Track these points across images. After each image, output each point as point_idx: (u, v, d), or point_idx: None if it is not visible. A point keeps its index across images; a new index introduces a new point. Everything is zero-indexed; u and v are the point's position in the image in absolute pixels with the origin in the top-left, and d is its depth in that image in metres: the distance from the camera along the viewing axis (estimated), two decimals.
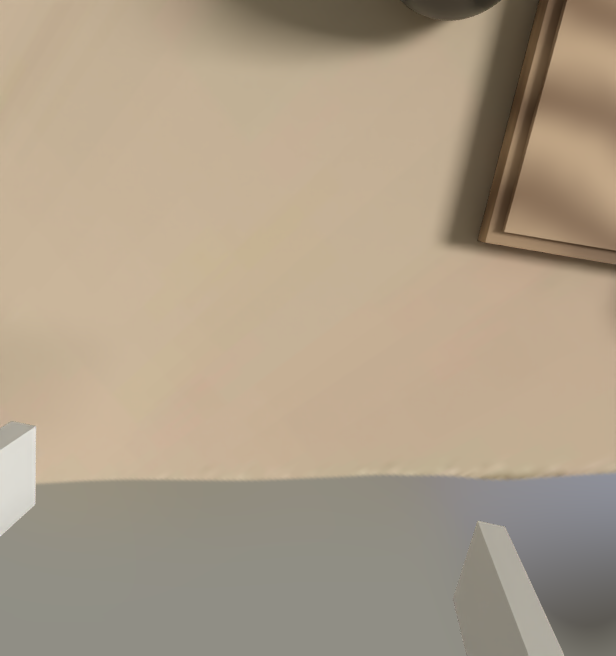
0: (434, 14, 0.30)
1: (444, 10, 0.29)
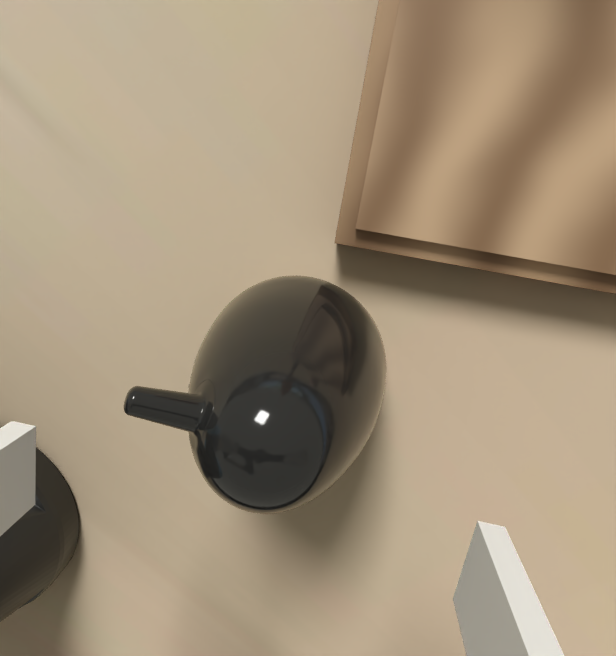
0: None
1: None
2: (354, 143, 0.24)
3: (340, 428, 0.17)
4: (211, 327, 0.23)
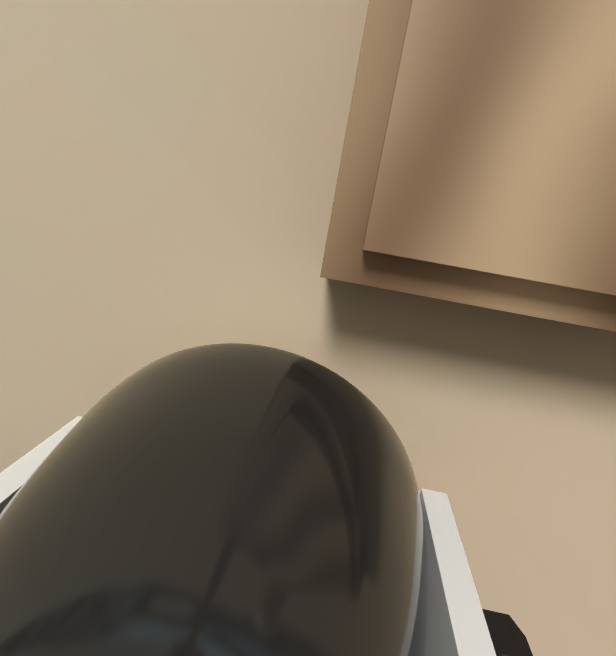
0: None
1: None
2: (361, 69, 0.11)
3: None
4: None
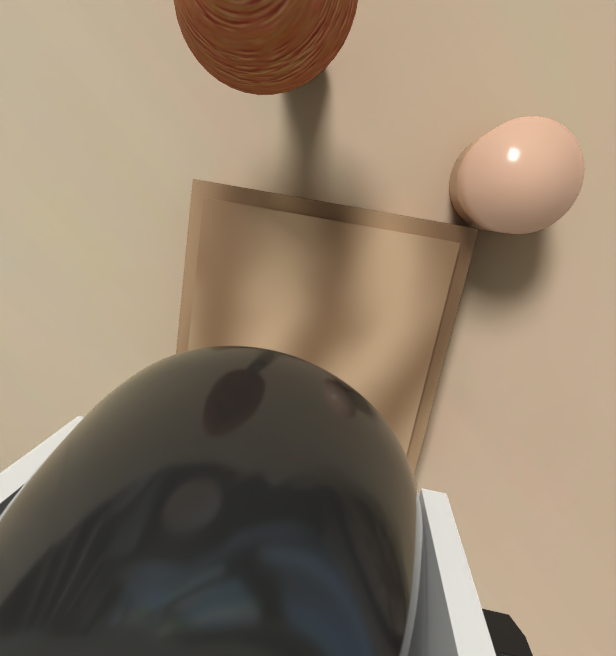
0: None
1: None
2: None
3: None
4: None
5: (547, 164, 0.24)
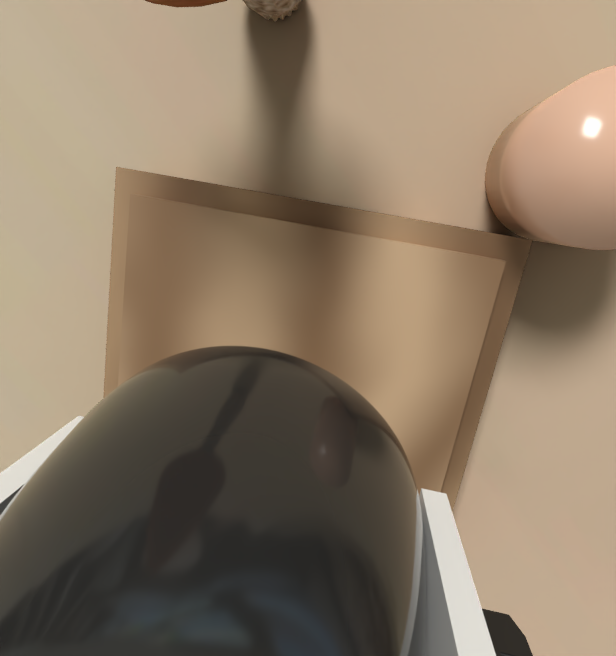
0: None
1: None
2: None
3: None
4: None
5: None
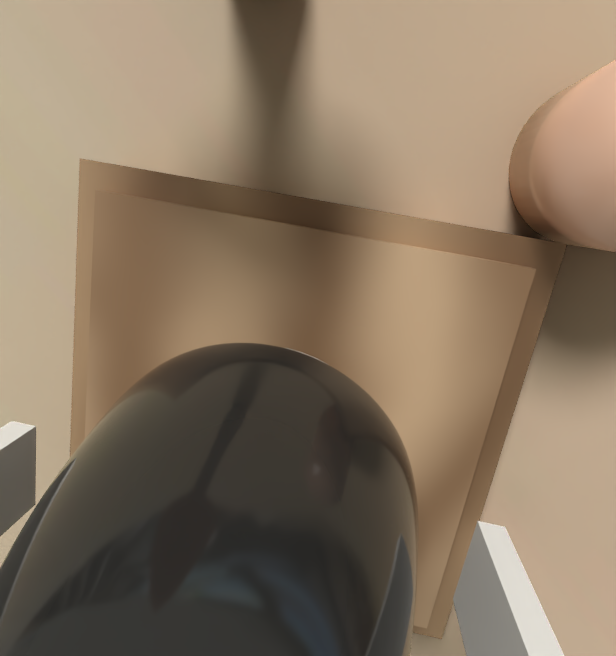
0: None
1: None
2: None
3: None
4: (62, 468, 0.11)
5: None
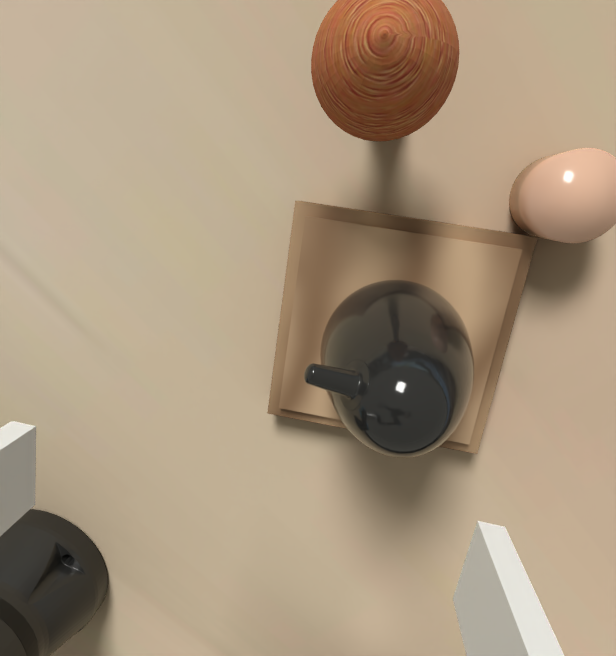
0: None
1: None
2: (276, 356, 0.38)
3: (459, 394, 0.23)
4: (337, 321, 0.29)
5: (598, 185, 0.30)
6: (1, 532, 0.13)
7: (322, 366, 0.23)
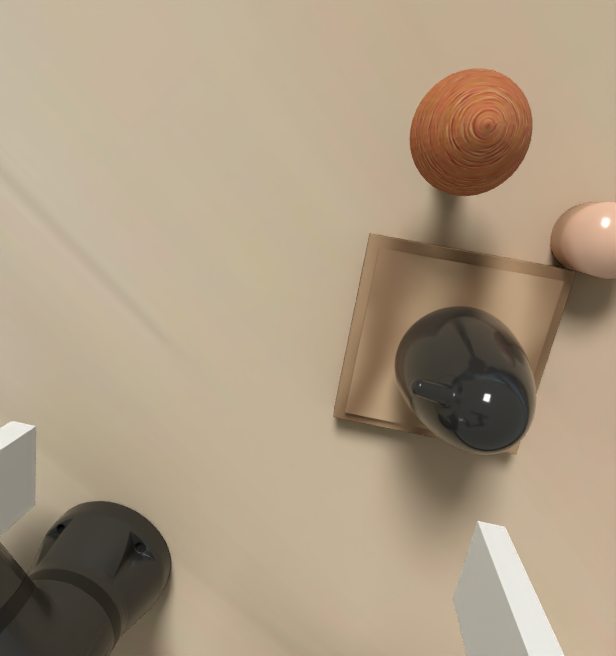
0: None
1: None
2: (344, 367, 0.44)
3: (533, 404, 0.29)
4: (418, 341, 0.34)
5: None
6: (1, 532, 0.13)
7: (426, 380, 0.28)
